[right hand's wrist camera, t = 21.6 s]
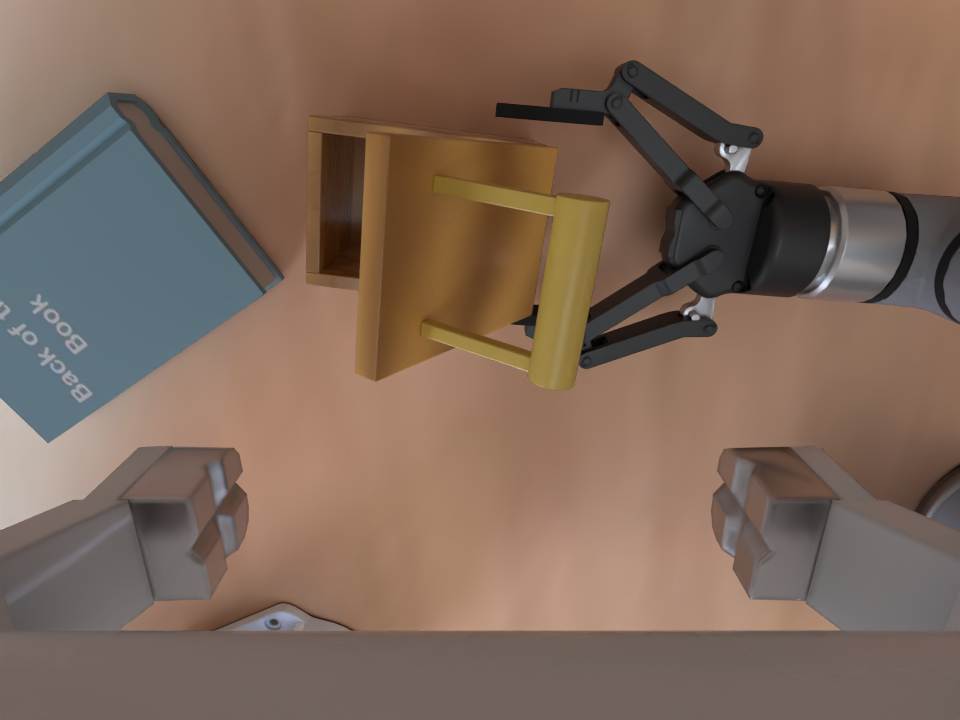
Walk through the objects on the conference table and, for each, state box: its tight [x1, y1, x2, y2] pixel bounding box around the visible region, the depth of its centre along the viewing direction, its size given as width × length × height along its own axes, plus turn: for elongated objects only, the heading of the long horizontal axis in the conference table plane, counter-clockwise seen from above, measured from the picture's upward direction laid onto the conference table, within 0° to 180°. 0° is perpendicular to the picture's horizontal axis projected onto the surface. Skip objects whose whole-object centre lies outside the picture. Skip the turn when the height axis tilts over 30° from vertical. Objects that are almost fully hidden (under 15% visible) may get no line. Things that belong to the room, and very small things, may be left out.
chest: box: [306, 115, 546, 290], centre depth 41 cm, size 14×10×11 cm
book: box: [0, 93, 284, 443], centre depth 46 cm, size 23×16×5 cm
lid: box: [355, 131, 610, 390], centre depth 28 cm, size 15×10×9 cm
